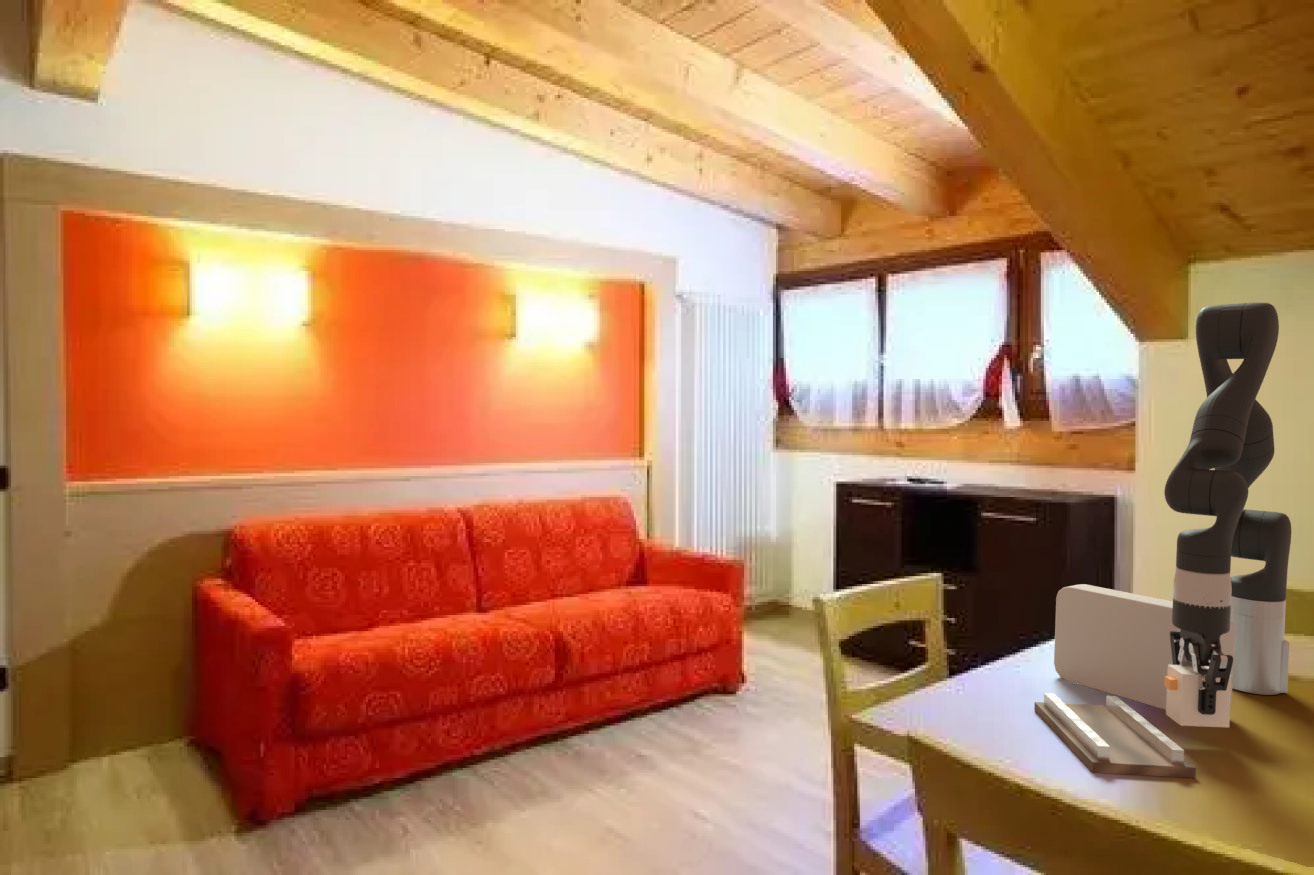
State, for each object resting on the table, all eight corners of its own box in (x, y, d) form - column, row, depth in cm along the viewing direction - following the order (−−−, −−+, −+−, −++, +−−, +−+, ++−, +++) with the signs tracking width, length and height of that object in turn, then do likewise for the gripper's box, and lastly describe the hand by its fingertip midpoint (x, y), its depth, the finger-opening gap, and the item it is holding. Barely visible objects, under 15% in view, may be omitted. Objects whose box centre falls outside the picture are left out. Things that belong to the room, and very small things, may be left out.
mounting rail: (1115, 707, 142) (1116, 696, 142) (1183, 764, 120) (1184, 750, 120) (1043, 704, 143) (1044, 692, 143) (1097, 759, 121) (1098, 745, 121)
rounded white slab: (1237, 716, 143) (1242, 611, 142) (1216, 725, 139) (1221, 617, 138) (1075, 670, 167) (1078, 580, 166) (1053, 676, 163) (1056, 584, 162)
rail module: (1212, 716, 132) (1214, 666, 132) (1229, 727, 128) (1231, 675, 127) (1158, 713, 133) (1160, 664, 133) (1173, 725, 129) (1174, 673, 128)
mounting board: (1120, 714, 143) (1120, 706, 143) (1195, 778, 119) (1195, 767, 119) (1034, 710, 144) (1034, 702, 144) (1091, 772, 120) (1092, 762, 120)
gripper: (1255, 611, 122) (1250, 726, 123) (1202, 588, 136) (1198, 691, 137) (1200, 610, 123) (1196, 724, 124) (1153, 587, 137) (1149, 690, 138)
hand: (1197, 706), depth 130 cm, fingers closed on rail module, 4 cm apart
